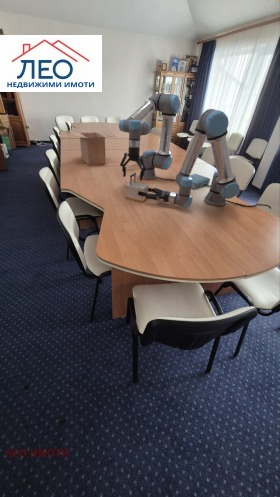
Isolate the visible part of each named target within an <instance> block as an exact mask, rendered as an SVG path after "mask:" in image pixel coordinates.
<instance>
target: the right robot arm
mask: <svg viewBox="0 0 280 497" xmlns="http://www.w3.org/2000/svg"><path fill="white" fill-rule="evenodd" d="M229 124H230V122H229V117H228V115H227V114H226V113H225V112H224V111H222V110H219V109H215V108H209V109H206V110H205V111H203V112H202V114H200V117H199V118H198V121H197V123H196V127H195V129H194V135H193V138H192V140H191V143H190V145H189V148H188V150H187V152H186V155H185V156H184V157H185V158H184V159H183V162H182V165H181V167H180V170H179V172H178V173H177V174H176V175H175V180H176V181H175V182H176V184H177V185H178V187H179V190H178V193H177V192H171V191H168V190H163V189H160V188H157V187H153V188H152V187H148V194H147V193H145V192H140V191H138V195H140V196H144V197H146V199H145V200H153V201H160V200H162V201H163V203H164V202H165V203H169V204H171V205H177V206H180V207H184V208H190V207H191V205H192V202H193V197H192V196H191V191H192V188H191V187H192V181H193V180H192V178H190V177H189V176H190V175H191V173H192V171H193V168H194V166H195V164H196V162H197V159H198V157H199V155H200V153H201V151H202V148H203V145H204V143H205V141H206V140H207V141H208V142H209V143H210V146H211V151H212V156H213V160H214V164H215V169H216V171H214V173H213V175H212V179H211V184H210V186H211V187H210V186H209V191H208V192H207V194H204V195H205V196H204V202H205V203H206V204H208V205H210V206H213V207H214V206H215V207H223V206H225V204H226V202H227V203H230V204H234V205H237V206H240V207H246V208H253V207H256V206H261V207H262V206H263V207H268V208H269V209H270V210H271V209H272V206H270V205H268V204H263V203H256V204H252V205H245V204H241V203H238V202H236V201H235V202H234V201H232V200H230V199H232V198H235V197H236V196H237V195H238V194H239V192H240V191H239V190H241V188H240V185H239V183H238V182H237V178H236V174H235V173H233V171H232V165H231V159H230V155H229V154H230V153H229V147H228V142H227V138H226V137H227V135H228V132H229V131H228V127H229Z"/></svg>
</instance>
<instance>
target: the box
mask: <svg viewBox="0 0 280 497" xmlns="http://www.w3.org/2000/svg"><path fill="white" fill-rule="evenodd" d="M70 133H71V134H72V135H74V136H75V137H77V138H79V144H80V153H81V160H83V162H85V163H86V165H87V166H95V165H97V166H98V165H106V163H107V162H106V158H107V157H106V138H113V137H114V136H113V135H111V134H109V133H108V132H105V131H98V132H96V131H95V130H92V129H91V130H77V132H76V131H70Z"/></svg>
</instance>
